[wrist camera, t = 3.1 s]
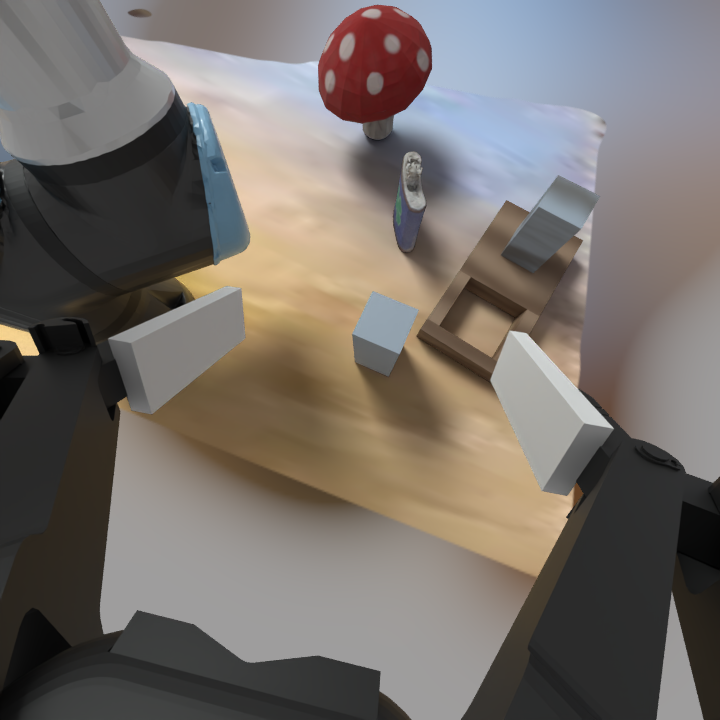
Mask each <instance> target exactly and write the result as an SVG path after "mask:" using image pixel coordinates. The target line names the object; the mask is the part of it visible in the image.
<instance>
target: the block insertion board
mask: <svg viewBox="0 0 720 720" xmlns="http://www.w3.org/2000/svg"><path fill="white" fill-rule="evenodd" d="M599 197H600V196H599V195H597V194H595V193H593V192H591V191H589V190H587V189H585V188H583V187H581V186H579V185H577V184H575V183H573V182H571V181H569V180H567V179H565V178H563V177H561V176H559V175H558V176H557V178H556V179H555V180H554V182H553V183H552V184H551V186H550V187H549V188H548V189H547V191H546V192H545V193H544V195H543V196H542V197H541V199H540V200H539V201H538V202H537V204H536V205H535V206H534V208H533V209H532V210H531V212H528V211H526V210H524V209H522V208H520V207H518V206H516V205H515V204H513V203H511V202H509V201H507V200H506V202H505V203H504V205H503V206H502V208H501V209H500V211H499V212H498V214H497V215H496V217H495V218H494V220H493V221H492V223H491V224H490V226H489V227H488V229H487V230H486V232H485V233H484V235H483V236H482V238H481V239H480V241H479V242H478V244H477V245H476V247H475V248H474V250H473V251H472V253H471V254H470V256H469V257H468V259H467V260H466V262H465V263H464V265H463V266H462V268H461V269H460V271H459V272H458V274H457V275H456V277H455V278H454V280H453V281H452V283H451V284H450V286H449V287H448V289H447V290H446V292H445V293H444V295H443V296H442V298H441V299H440V301H439V302H438V304H437V305H436V307H435V308H434V310H433V311H432V313H431V314H430V316H429V317H428V319H427V320H426V322H425V323H424V325H423V326H422V328H421V329H420V331H419V333H418V334H417V337H418V338H420V339H422V340H423V341H425V342H426V343H428V344H430V345H431V346H433V347H434V348H436V349H437V350H439V351H441V352H442V353H444V354H445V355H447V356H449V357H450V358H452V359H453V360H455V361H457V362H458V363H460V364H461V365H463V366H465V367H466V368H468V369H469V370H471V371H473V372H474V373H476V374H477V375H479V376H481V377H482V378H484V379H485V380H487V381H489V382H490V383H491V381H490V379H491V377H492V374H493V372H494V369H495V366H496V364H497V361H498V359H499V356H500V354H501V351H502V348H503V346H504V343H505V341H506V338H507V336H508V333H509V331H516V332H522V333H527V334H528V335H529V334H530V332H531V330H532V329H533V327H534V325H535V323H536V322H537V320H538V318H539V316H540V315H541V313H542V311H543V309H544V308H545V306H546V304H547V302H548V301H549V299H550V297H551V295H552V294H553V292H554V290H555V288H556V287H557V285H558V283H559V281H560V280H561V278H562V276H563V274H564V273H565V271H566V269H567V267H568V266H569V264H570V262H571V260H572V259H573V257H574V255H575V253H576V252H577V250H578V248H579V247H580V245H581V243H582V241H583V240H581V239H579V238H577V237H575V236H574V235H575V234H576V233H577V232H578V231H579V230H581V228H582V227H583V225H584V223H585V222H586V220H587V218H588V216H589V215H590V213H591V211H592V210H593V208H594V206H595V204H596V203H597V201H598V199H599ZM463 288H465V289H467V290H469V291H470V292H472V293H474V294H476V295H477V296H479V297H481V298H482V299H484V300H486V301H488V302H489V303H491V304H493V305H494V306H496V307H498V308H500V309H501V310H503V311H505V312H506V313H508V314H510V315H512V316H513V317H515V320H514V322H513V323H512V325H511V327H510V329H509V330H508V332H507V334H506V335H505V337H504V339H503V340H502V342H501V344H500V345H499V347H498V349H497V351H496V352H495V354H494V356H493V357H492V358H491V357H489V356H488V355H486V354H484V353H483V352H481V351H480V350H478V349H476V348H475V347H473V346H471V345H470V344H468V343H467V342H465V341H463V340H462V339H460V338H458V337H457V336H455V335H453V334H452V333H450V332H449V331H447V330H445V329H444V328H442V327H440V326H439V325H440V323H441V322H442V320H443V319H444V317H445V316H446V314H447V313H448V311H449V310H450V308H451V307H452V305H453V304H454V302H455V300H456V299H457V297H458V296H459V294H460V293H461V291H462V290H463Z"/></svg>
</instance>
